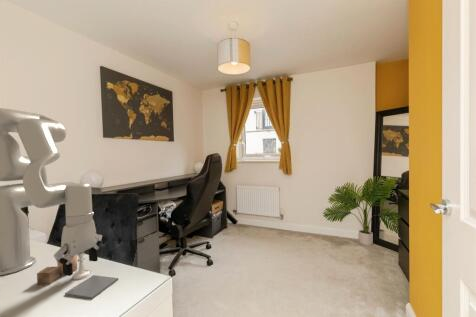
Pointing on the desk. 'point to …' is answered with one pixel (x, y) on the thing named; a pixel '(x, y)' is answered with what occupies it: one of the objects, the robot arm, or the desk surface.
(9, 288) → the desk surface
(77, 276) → the chess piece
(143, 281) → the desk surface
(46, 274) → the walnut block
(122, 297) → the desk surface
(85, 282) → the coaster
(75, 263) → the peach rounded dome
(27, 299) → the desk surface
